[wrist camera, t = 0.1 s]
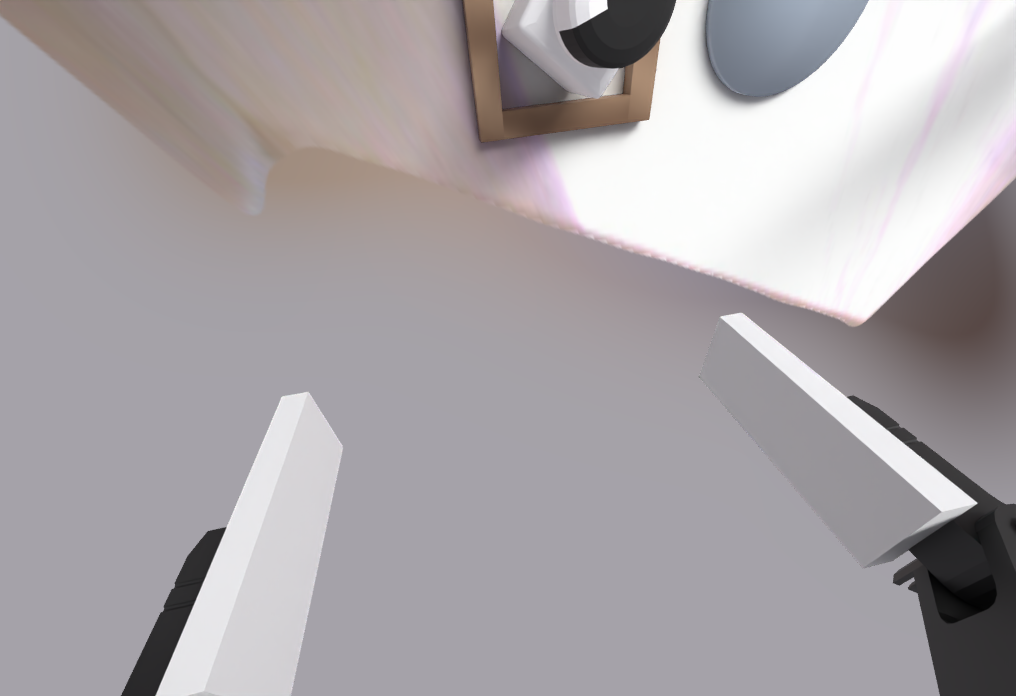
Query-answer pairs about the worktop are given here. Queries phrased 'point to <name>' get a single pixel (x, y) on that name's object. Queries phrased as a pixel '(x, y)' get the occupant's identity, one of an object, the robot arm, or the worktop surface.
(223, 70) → the worktop surface
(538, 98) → the worktop surface
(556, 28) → the medicine bottle
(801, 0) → the slate plate
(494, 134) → the wooden picture frame
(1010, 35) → the worktop surface
